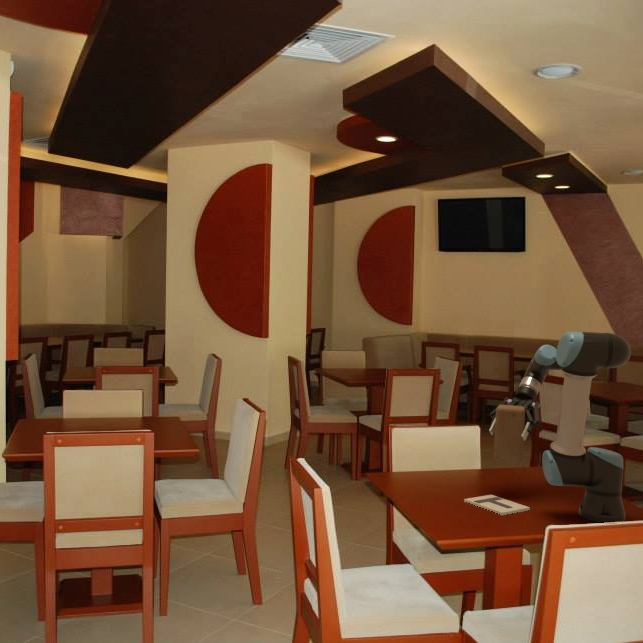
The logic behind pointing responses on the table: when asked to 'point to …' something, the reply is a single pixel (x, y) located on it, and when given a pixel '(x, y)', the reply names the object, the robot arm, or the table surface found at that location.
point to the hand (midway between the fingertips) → (506, 435)
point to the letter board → (497, 504)
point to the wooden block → (509, 433)
